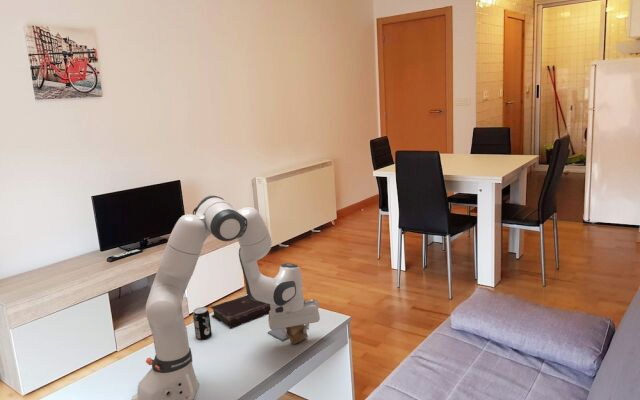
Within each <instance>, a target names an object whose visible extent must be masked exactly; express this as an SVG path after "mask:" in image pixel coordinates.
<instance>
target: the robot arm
mask: <svg viewBox="0 0 640 400" xmlns="http://www.w3.org/2000/svg"><path fill="white" fill-rule="evenodd" d="M211 235H212V236H213V237H214V238H216V239H217V240H218V241H219V240H220V241H221V242H231V241H235V240H237V242H238V244H239V249H238V258H239V262H240V266H241V270H242V274H243V277H244V280H245V281H244V282H245V291H246V295H248V297H249V298H250V299H251V300H254V301H261V302H265V303H268V304H270V308H271V310H270V311H269V314H268V318H267V319H268V320H267V321H268V327H269V329H270V331H271V330H275V329H281V331H282V332H283V333H284V337H285V338H286V337H288V332H287V331H286V332H285V331H284V330H285V328H287V327H292V326H298V325H305V328H303V329H302V330H303V334H307V335H308V330H309V329H308V327H310V324H313V323H318V322H319V321H320V320H321V319H320V311H319V308H320V302H319V300H316V299H315V298H314V299H309V300H308V299H307V300H305V299H304V296H305V295H304V292H303V276H302V271H301V269H300V267H299V265H298V264H295V263H282V264H280V265H279V271H278V273H277V274H276V275H275V276H274V277H270V276H266V275H264V274H262V273H261V272H260V268H259V264H258V261H259V260H261V259H263V258H264V257H265V256H267V255H268V254H269V253H270V250H271V249H272V246H273V244H272V242H273V241H272V237H271V235H270V232H269V230H268V227H267V224H266V222H265V221H264V219H263V217H262V216H261V214H260V213H259V211H258V210H257V208H255V207H252V206H244V207H240V209H237V210H236V209H235V208H234V207H233V206H232V205H231V204H230V203H229V202H228V201H227V200H225V199H224V198H223V197H220V196H217V195H208V196H206V197H204V198H202V200H201V201H200V202H198V204H197V206H196V207H195V208H194V209H193V211H192V213H190V214H189V213H187V214H184V215H183V214H182V215H181V217H179V218H178V220H177V221H176V223H175V224H174V227H173V228H172V231H171V233H170V236H169V237H168V240H167V243H166V246H165V249H164V251H163V254H162V258H161V260H160V263H159V266H158V269H157V271H156V274H155V276H154V279H153V282H152V285H151V287H150V291H149V294H148V297H147V300H146V304H145V315H146V318H147V321H148V324H149V328H150V331H151V334H152V338H153V345H154V350H155V352H154V353H155V355H154V358H153V359H152V358H151V357H147V358H146V360H145V363H146V364H147V365H149V366H151V369H149V370H148V371H147V373H146V374H145V376H143V378H141V380H140V381H139V382H138V385H137V393H136V394H135V395H133V396H132V398H131V400H194V398H195V394H196V393H197V392H198V390H199V388H200V382H199V380H198V378H197V376H196V374H195V370H194V365H193V355H192V354H193V353H192V348H191V347H190V344H189V343H190V342H189V336H188V335H189V334H188V331H187V326H186V323H185V319H184V313H183V300H184V297H185V292H186V290H187V288H188V285H189V283H190V280H191V278H192V276H193V275H194V272H195V269H196V266H197V263H198V260H199V258H200V255H201V252H202V249H203V246H204V243H205V241H206V240H207V239H208V238H209V236H211Z"/></svg>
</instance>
